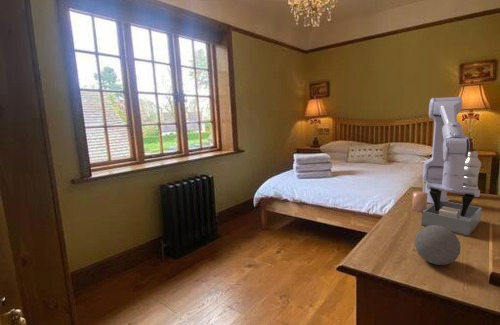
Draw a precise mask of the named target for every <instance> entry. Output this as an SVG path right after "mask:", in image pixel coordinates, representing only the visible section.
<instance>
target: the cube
mask: <svg viewBox="0 0 500 325" xmlns="http://www.w3.org/2000/svg"><path fill="white" fill-rule="evenodd" d="M439 215H443V216H448V217H453V218H458V219H460V209H454V208H449V207H444V206H443V207H442V208H441V209H440V210H439Z"/></svg>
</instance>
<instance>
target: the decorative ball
mask: <svg viewBox="0 0 500 325" xmlns="http://www.w3.org/2000/svg"><path fill="white" fill-rule="evenodd" d="M414 246H415V250H416V251H417V253H418V255H419V256H420V257H421V258H422V259H423V260H425V261H426V262H428V263H431V264H433V265H438V266H445V265H449V264H451V263H454V262H455V261H456V260H457V259H458V258H459V256H460V254H461V248H462V247H461V242H460V240H459V238H458V236H457V234H455V233H453V232H452V231H450V230H449V229H447V228H445V227H442V226H438V225H431V226H423V228H421V229H419V231H418V232H417V234H416V235H415V239H414Z"/></svg>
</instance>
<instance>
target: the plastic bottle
mask: <svg viewBox="0 0 500 325" xmlns="http://www.w3.org/2000/svg"><path fill="white" fill-rule="evenodd" d="M478 157H479V151H477V150H476V151H475V150H473V151H471V150H469V153H468V155H466V160H465V171H464V181H463V187H467V188H472V189H477V190H479V186H478V184H479V183H478V182H479V173H480V170H481V167H482V162H481V160H480V159H479V158H478ZM461 195H462V196H464V195H465V194H461Z"/></svg>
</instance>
